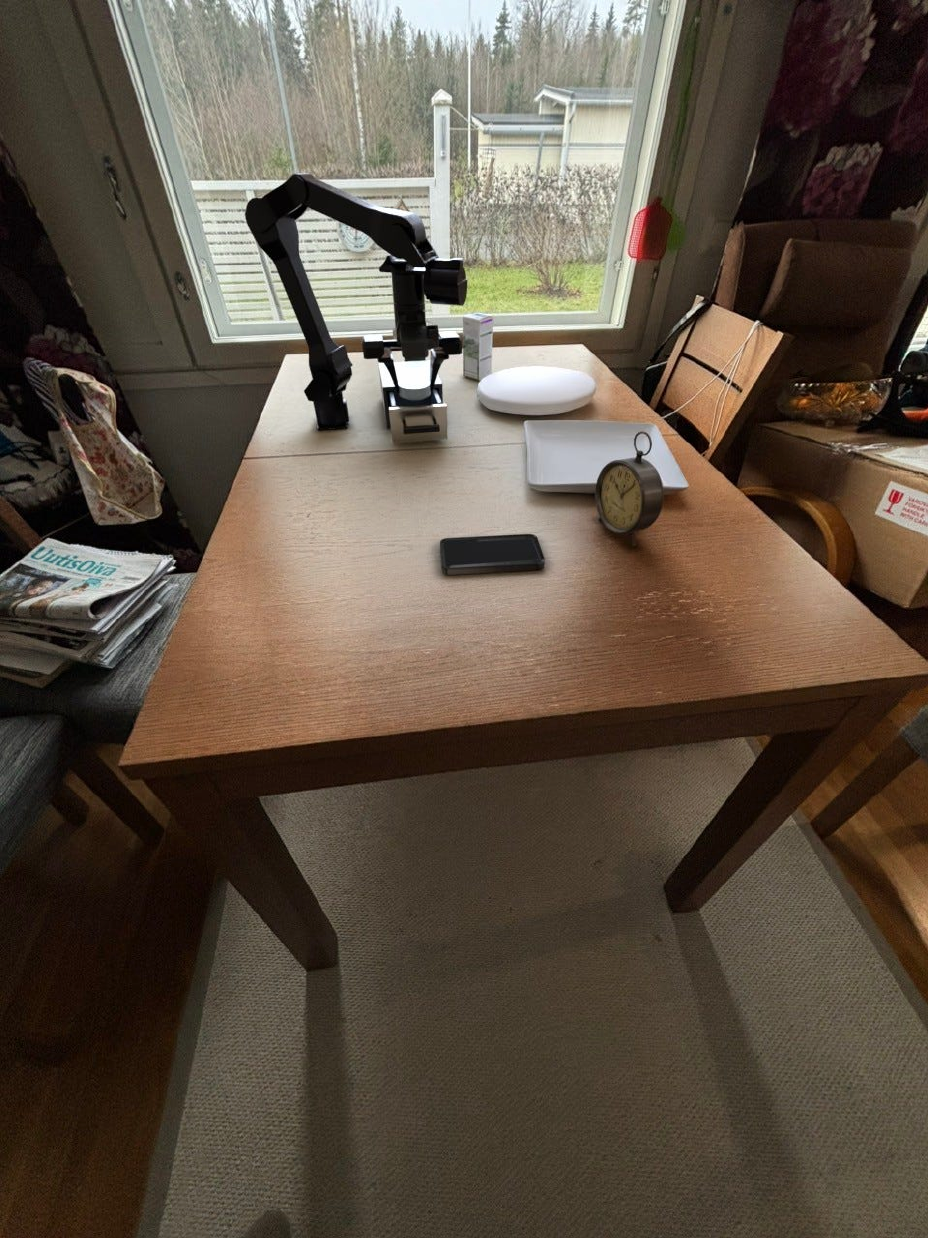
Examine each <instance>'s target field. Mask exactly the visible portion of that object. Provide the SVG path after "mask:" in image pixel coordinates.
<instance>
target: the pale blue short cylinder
mask: <svg viewBox="0 0 928 1238" xmlns="http://www.w3.org/2000/svg"><path fill="white" fill-rule="evenodd" d="M430 394H431V385H430V382H429V381H428V380H425V379H419V378H412V379H405V380H402V381H401V382H399V395H400V396H401V397H403V398H405V399H407V400H411V401H418V400H423V399H425V398H426V397H428V396H430Z"/></svg>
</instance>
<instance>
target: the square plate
mask: <svg viewBox="0 0 928 1238" xmlns="http://www.w3.org/2000/svg"><path fill="white" fill-rule="evenodd" d="M640 431H644V432H646V433H648V434H649V436H650V437H651V440H652V447H651V450H650V452H649V453H648V454H647V455H645V456H642V459H645V460H647V461H648V462H650V463H651V464H652V465H653V466H654V467H655V468H656V470H657V471H658V473H659V475H660V477H661V480H662V483H663V489H664V496H665V495H666V496H667V495H673V494H678V493H680V492H683V491H686V490H687V489H689V488H690V485H689V482H688V481H687V479H686V477H685V475H684V474H683V471H682V470H681V467H680V466H679V464H678V462H677V460H676V459H675V457H674V455H673V453H672V452H671V450H670V448H669V446H668V444H667V442H666V440H665V438H664V436H663V435H662V433H661V431H660V429H659V428H658V426H657V425H656V424H655V423H652V422H635V421H617V420H615V421H614V420H581V419H578V420H575V419H574V420H573V419H570V420H569V419H565V420H564V419H562V420H561V419H557V420H556V419H554V420H552V419H551V420H550V419H549V420H547V419H546V420H525V421H524V422H523V432H524V439H525V447H526V481H527V485H528V486H529V487H530V488H531V489H532V490H535V491H539V492H547V493H568V494H595V490H596V483H597V479H598V477H599V475H600V472H601V471H602V469H603V468H604V467H605V466H606V465H607V464H608V463H610V462H612V461H614V460H622V459H628V458H635V457H636V456H637V455H636V453H637V451H636V450H635V446H634V438H635V436H636V434H637V433H638V432H640ZM636 447H637V450H638V451H640V450H641V451H643V454H645V453H647V452H648V450H649V447H650V443H649V439H648V437H647V436H646V435H645V434H639V435H638V437H637V439H636Z"/></svg>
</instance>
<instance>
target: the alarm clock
mask: <svg viewBox="0 0 928 1238" xmlns="http://www.w3.org/2000/svg"><path fill="white" fill-rule="evenodd" d="M639 434H645V435H646V436H647V437H648V439H649V443H650V447H649V450H648V452H647V453H645V454H643V451H641V450H640V451H638V450H637V447H636V439H637V437H638V435H639ZM634 446H635V450H636V451H637V453H636V455H637V456H636V457H635V458H628V459H622V460H614V461H612V462H610V463H608V464H607V465H606V466H605V467H604V468H603V469H602V471H601V472H600V475H599V477H598V479H597V483H596V490H595V493H594V496H595V497H594V499H595V500H594V501H595V506H596V510H597V513H598V516H599V517H598V518H597V519H598V521H599V522H602V523H603V525H604V526H605V527H606V528H607V529H608V530H609V531H610V532H612V533H614V534H617V535H629V540H630V543H631V545H630V546H631V548H633V549H634V548H635V547H636V545H637V544H636V543H635V539H636V537H635V533H636V532H639V531H640V532H641V531H644V530H646V529H648V528H650V527H651V526H653V524H654V523H655V522H656V521H657V520H658V519H659V517H660V515H661V512H662V510H663V505H664V500H665V495H664V489H663V483H662V480H661V477H660V475H659V473H658V471H657V470H656V468H655V467H654V466H653V465H652V464H651V463H650V462H648V461H647V460H645V459H642V456H645V455H647V454H648V453H649V452H650V450H651V447H652V440H651V437H650V436H649V434H648V433H646V432H644V431H640V432H638V433H637V434H636V436H635V438H634Z"/></svg>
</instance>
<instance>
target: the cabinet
mask: <svg viewBox="0 0 928 1238" xmlns="http://www.w3.org/2000/svg"><path fill="white" fill-rule="evenodd" d="M377 365H378V373H379V383H380V393H381V402H382V407H383V408H382V409H383V414H384V418H385V425H386V429H391V425H390V415H389V408H390V403H389V393H388V391H395V390H396V388H395V386H394V383H393V380H392V378H391V375H390V373H389V371H388V370H387V368H386V366H385V365H384V363H379V362H378V363H377ZM394 366H395V370H396V375H397V380H398V384H399V382H401V381H402V380H405V379H412V378H419V379H425V380H428V381H429V382H430V359H429V360H428V359H426V361H407V362H404V361H394ZM439 375H440V374H439V373H438V374H437V378H436V381H435V385H434V388H436V390H437V392H438V395H439V397H440V400H441V402H442V404H444V398H443V397H444V394H443V382H442V380H441V378H440V376H439Z"/></svg>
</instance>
